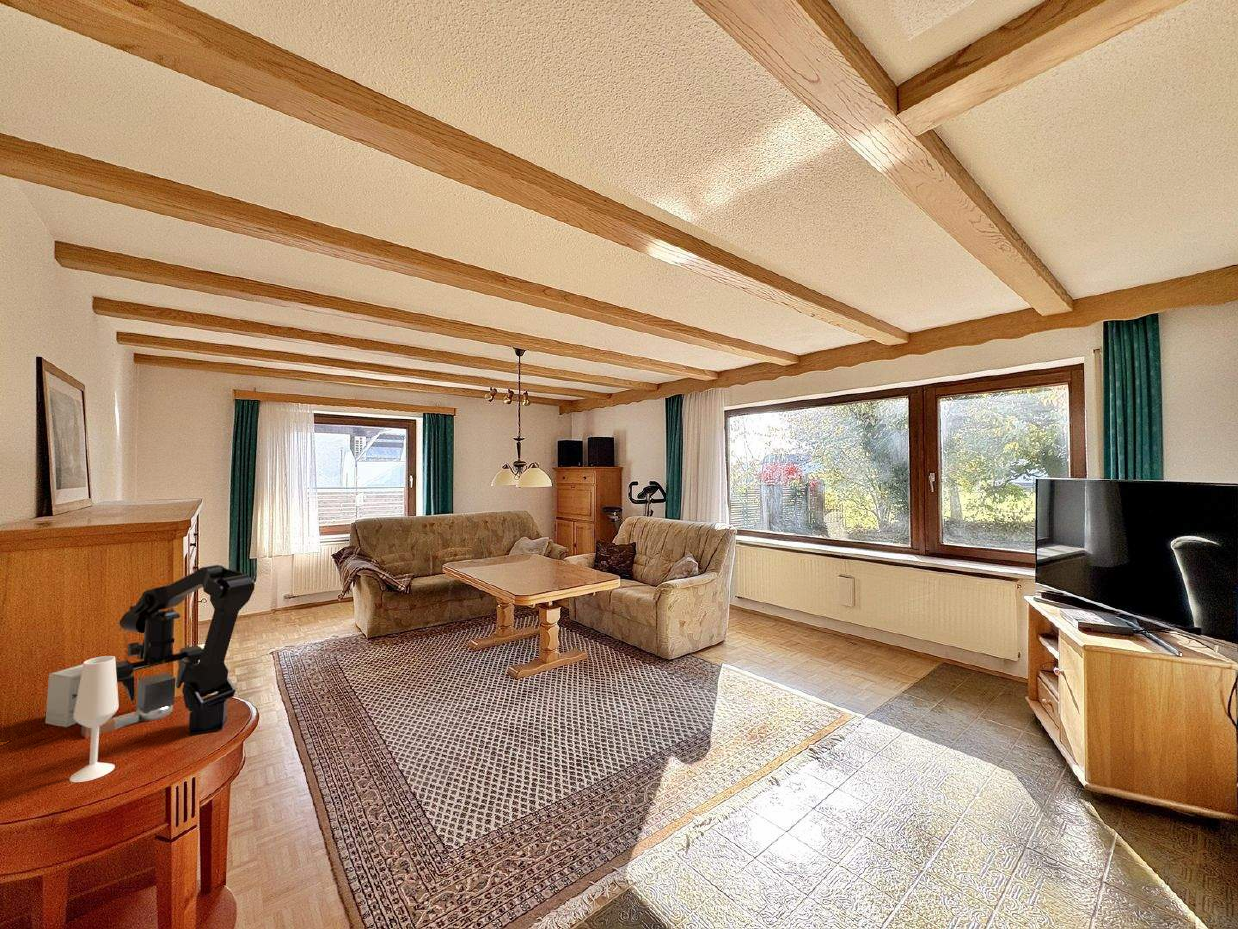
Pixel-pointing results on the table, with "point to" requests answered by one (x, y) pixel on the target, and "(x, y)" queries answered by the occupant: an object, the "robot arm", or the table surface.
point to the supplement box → (63, 696)
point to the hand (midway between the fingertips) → (155, 694)
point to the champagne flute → (96, 709)
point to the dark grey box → (155, 692)
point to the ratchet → (128, 720)
